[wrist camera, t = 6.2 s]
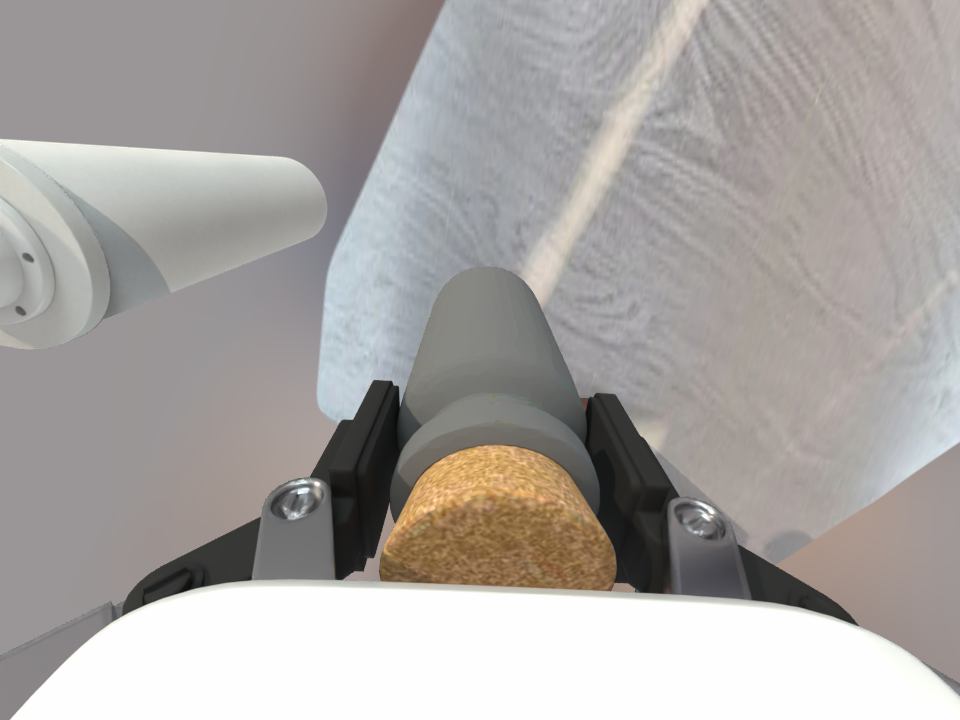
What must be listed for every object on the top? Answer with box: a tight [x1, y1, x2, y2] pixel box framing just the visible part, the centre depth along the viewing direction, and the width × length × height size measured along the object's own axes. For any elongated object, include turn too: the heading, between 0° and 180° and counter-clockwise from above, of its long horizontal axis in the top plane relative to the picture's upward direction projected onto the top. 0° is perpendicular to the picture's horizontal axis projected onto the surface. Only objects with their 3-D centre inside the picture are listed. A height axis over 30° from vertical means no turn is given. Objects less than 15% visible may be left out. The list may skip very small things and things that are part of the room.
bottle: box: [379, 266, 617, 591], centre depth 14 cm, size 6×6×15 cm
